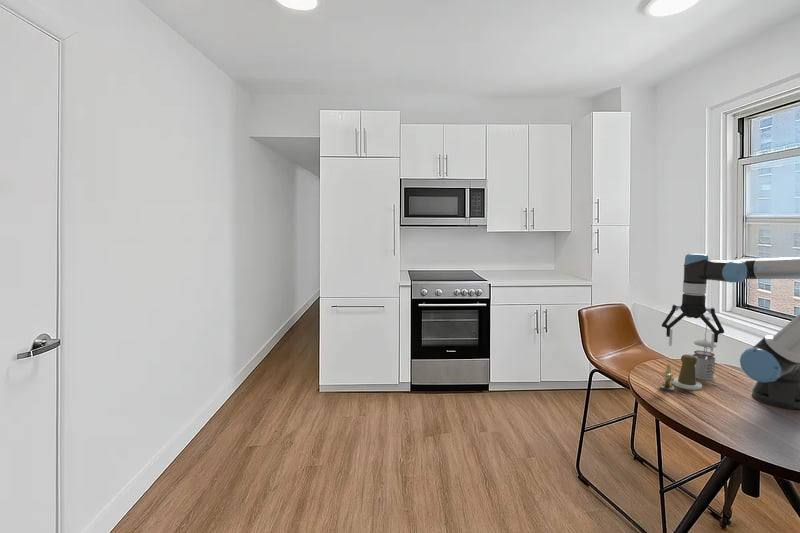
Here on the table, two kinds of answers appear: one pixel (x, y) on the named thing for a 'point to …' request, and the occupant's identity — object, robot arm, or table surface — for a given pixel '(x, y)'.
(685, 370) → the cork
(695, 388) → the dish
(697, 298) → the robot arm
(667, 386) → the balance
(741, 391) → the table surface
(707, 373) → the french press
